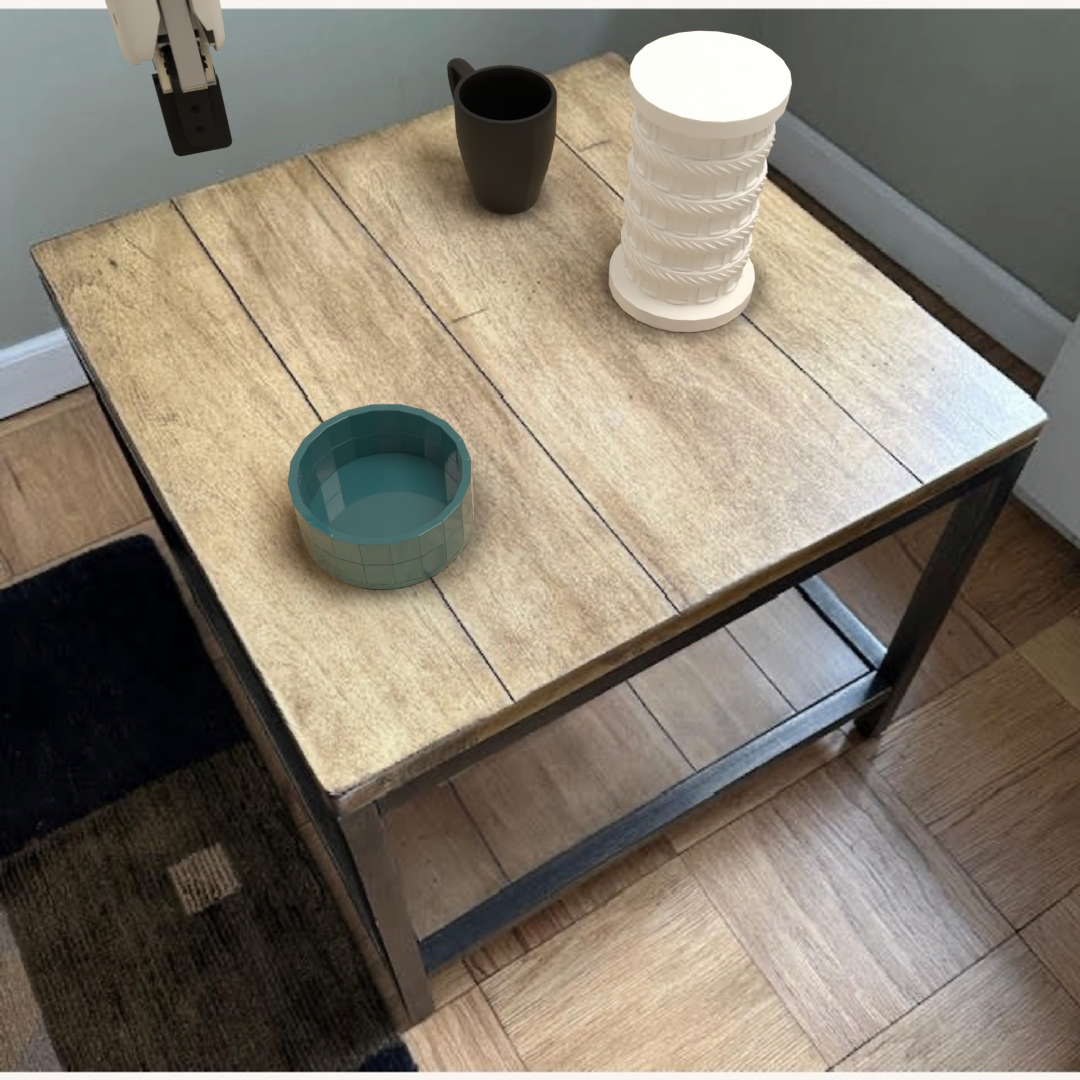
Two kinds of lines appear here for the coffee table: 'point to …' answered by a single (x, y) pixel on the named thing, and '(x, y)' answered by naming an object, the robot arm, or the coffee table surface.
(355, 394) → the coffee table surface
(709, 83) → the decorative container
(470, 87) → the mug
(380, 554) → the bowl
